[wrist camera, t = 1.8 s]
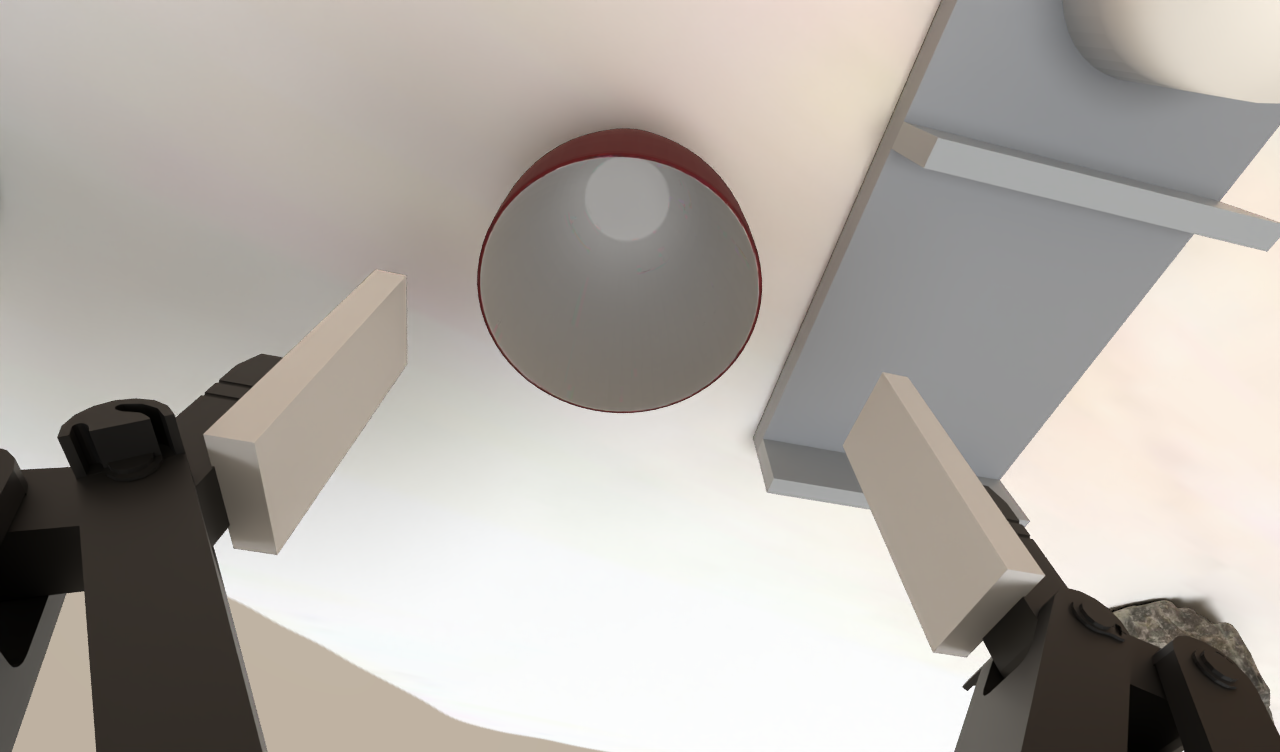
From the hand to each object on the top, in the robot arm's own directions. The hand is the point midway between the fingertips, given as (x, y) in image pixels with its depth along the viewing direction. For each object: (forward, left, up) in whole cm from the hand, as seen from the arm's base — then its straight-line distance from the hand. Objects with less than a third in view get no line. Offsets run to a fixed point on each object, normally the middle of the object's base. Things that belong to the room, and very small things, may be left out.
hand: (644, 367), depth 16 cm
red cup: (0, 0, -11) cm, 11 cm away
